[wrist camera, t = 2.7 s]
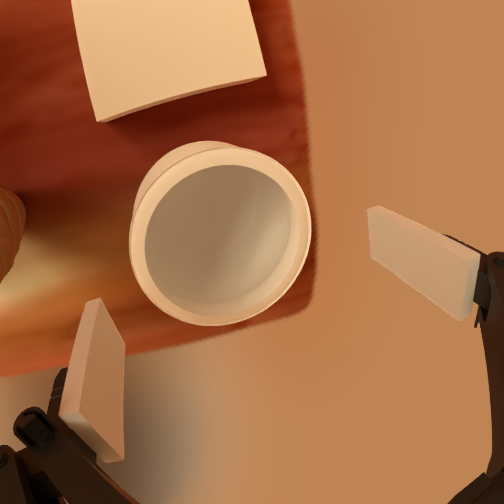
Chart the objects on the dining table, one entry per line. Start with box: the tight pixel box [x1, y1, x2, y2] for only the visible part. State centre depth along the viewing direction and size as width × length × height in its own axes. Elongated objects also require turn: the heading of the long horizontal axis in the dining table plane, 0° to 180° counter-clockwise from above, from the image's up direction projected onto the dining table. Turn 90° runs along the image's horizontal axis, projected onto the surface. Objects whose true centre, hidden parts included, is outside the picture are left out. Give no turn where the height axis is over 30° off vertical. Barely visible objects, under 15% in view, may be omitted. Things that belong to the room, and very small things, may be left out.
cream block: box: [71, 0, 267, 122], centre depth 22 cm, size 14×14×5 cm
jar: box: [129, 141, 311, 326], centre depth 24 cm, size 11×10×15 cm
